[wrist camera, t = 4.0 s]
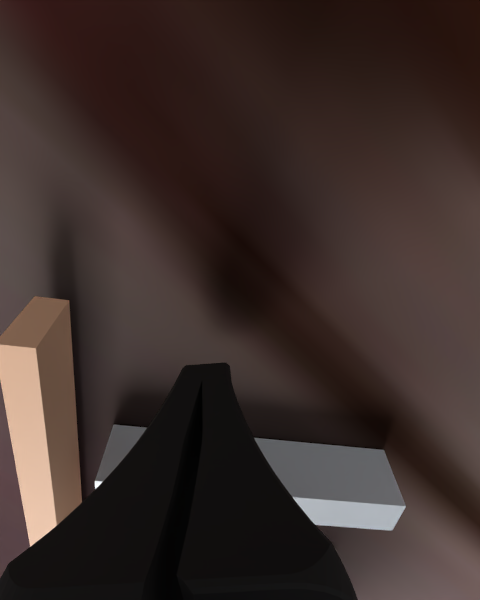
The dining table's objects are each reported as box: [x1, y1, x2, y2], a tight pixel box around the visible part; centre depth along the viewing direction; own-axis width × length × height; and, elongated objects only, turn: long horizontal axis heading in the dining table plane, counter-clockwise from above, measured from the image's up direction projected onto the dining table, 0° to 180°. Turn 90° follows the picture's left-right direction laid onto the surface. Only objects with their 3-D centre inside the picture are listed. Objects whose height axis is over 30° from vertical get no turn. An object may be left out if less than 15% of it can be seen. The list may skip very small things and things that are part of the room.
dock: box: [95, 424, 406, 531], centre depth 18 cm, size 10×11×2 cm
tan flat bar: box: [0, 296, 82, 547], centre depth 15 cm, size 17×1×4 cm, turn 171°
